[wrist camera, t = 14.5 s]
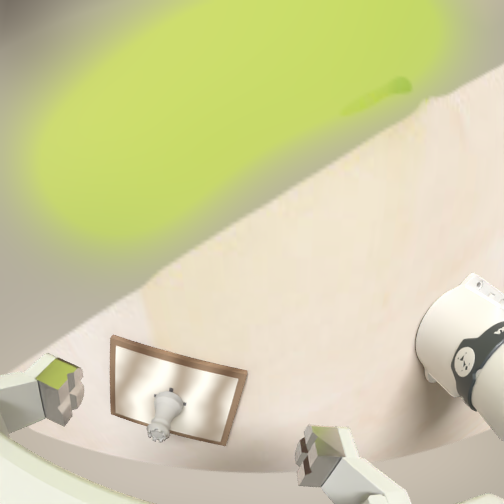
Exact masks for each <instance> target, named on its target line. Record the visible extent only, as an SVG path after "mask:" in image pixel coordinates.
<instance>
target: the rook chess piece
mask: <svg viewBox="0 0 504 504" xmlns="http://www.w3.org/2000/svg"><path fill="white" fill-rule="evenodd" d="M154 408H155V411H156V412H155V417H154V418H153V419H152V420H151V424H149V425H148V426H147V431H148V433H149V434H148V436H149V438H151V437H153V441H155V442H156V439H157V440H159V442H163V440H164V441H165V440H166V439H167V438H169V436H170V432H169V430H170V428H171V425H170V424H171V422H172V420H173V419H174V418H175V417H177V416H178V415H179V414H180V413H181V411H182V409H183V401H182V400H181V398H180V397H179V396H178V395H177V394H175V393H173V392H169V391H164V392H160V393H158V394H157V395H156V397H155V400H154Z"/></svg>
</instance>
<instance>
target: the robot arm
mask: <svg viewBox="0 0 504 504" xmlns="http://www.w3.org/2000/svg"><path fill="white" fill-rule="evenodd" d="M477 283H478V284H477ZM416 352H417V356H418V358H419V360H420V362H421V363H422V364H423V366H424V368H425V377H426V379H427V380H428V381H429V382H430V383H433V382H438V383H439V384H440V385H441V386H442V387H443V388H444V389H445V390H446V391H447V392H448V393H449V394H450V395H451V396H452V397H455V398H456V397H461V398H462V400H463V401H464V403H465V404H466V405H467V406H469V407H470V408H471V409H472V410H474V411H478V413H479V414H480V415H481V416H482V417H483V419H484V420H485V421H486V422H487V424H488V425H489V426H490V427H491V429H492V430H493V431H494V432H495V434H496V435H497V436H498V437H499V439H501V440H502V441H504V293H502V292H501V291H500V290H498V289H497V288H495V287H494V286H493V285H491V284H490V283H488V282H487V281H486V280H484V279H483V278H481V277H480V276H479V275H477V274H476V273H471V274H470V275H468V276H467V277H466V278H465V279H464V281H463V282H462V283H461V284H460V285H459V286H457V287H455V288H453V289H451V290H449V291H448V292H446V293H445V294H443V295H442V296H441V297H440V298H438V299H437V300H436V301H435V302H434V304H433V305H432V306H431V307H430V308H429V310H428V311H427V313H426V314H425V316H424V318H423V320H422V322H421V324H420V327H419V329H418V333H417V337H416ZM82 378H83V371H82V369H81V368H80V367H78V366H76V365H74V364H71V363H69V362H67V361H65V360H63V359H61V358H58V357H56V356H54V355H52V354H50V353H45V354H44V355H43V356H42V357H40V358H39V359H38V360H37V361H36V362H35V363H34V364H33V365H32V366H31V367H29V368H28V369H27V370H26V371H25V372H24V373H22V372H21V371H20V372H15V373H10V374H5V375H0V504H154V503H151V502H148V501H144V500H141V499H138V498H135V497H132V496H129V495H126V494H123V493H120V492H118V491H115V490H112V489H109V488H107V487H104V486H102V485H99V484H97V483H94V482H92V481H90V480H87V479H85V478H83V477H80V476H78V475H76V474H74V473H72V472H70V471H67V470H65V469H63V468H61V467H59V466H57V465H55V464H53V463H51V462H49V461H48V460H46V459H44V458H42V457H40V456H38V455H37V454H35V453H33V452H32V451H30V450H28V449H26V448H25V447H23V446H21V445H20V444H18V443H17V442H15V441H13V440H12V439H11V438H10V436H9V434H10V433H12V432H15V431H17V430H19V429H22V428H24V427H27V426H29V425H32V424H34V423H36V422H39V421H41V420H43V419H45V418H47V419H49V420H51V421H54V422H56V423H58V424H60V425H62V426H64V427H65V425H66V424H67V423H68V421H69V420H70V418H71V417H72V410H74V409H77V408H78V407H79V406H80V404H81V402H82V400H83V397H84V386H83V384H82V382H81V381H80V380H81V379H82ZM304 435H305V437H304V438H302V439H301V440H300V441H299V443H298V445H297V448H296V452H295V461H296V464H297V465H298V466H299V467H300V468H299V469H298V471H297V477H298V485H299V486H309V487H321V489H322V490H323V491H324V493H325V494H326V495H327V496H328V497H329V499H330V500H331V501H332V502H333V503H334V504H412V503H411V501H410V499H409V496H408V494H407V491H406V490H405V489H403V488H402V487H401V486H399V485H398V484H397V483H395V482H394V481H393V480H391V479H390V478H389V477H387V476H386V475H385V474H384V473H382V472H381V471H380V470H378V469H377V468H376V467H375V466H373V465H372V464H371V463H370V462H368V461H367V460H366V459H365V458H360V456H359V453H358V450H357V448H356V445H355V442H354V439H353V436H352V433H351V431H350V429H349V428H348V427H336V426H335V427H333V426H319V425H308V426H307V427H306V429H305V431H304ZM455 504H504V499H502V498H500V497H498V496H496V495H494V494H491V493H487V494H484V495H480V496H477V497H475V498H471V499H468V500H465V501H462V502H459V503H455Z"/></svg>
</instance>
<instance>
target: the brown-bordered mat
mask: <svg viewBox="0 0 504 504" xmlns="http://www.w3.org/2000/svg"><path fill="white" fill-rule="evenodd" d="M246 376H247V370H242V369H237V368H232V367H228V366H223V365H219V364H215V363H210V362H206V361H202V360H198V359H194V358H190V357H186V356H183V355H179V354H175V353H171V352H168V351H164V350H161V349H157V348H154V347H151V346H147V345H144V344H141V343H137V342H134V341H131V340H128V339H125V338H122V337H119V336H116V335H112V337H111V338H110V403H111V414H112V415H115V416H118V417H120V418H123V419H126V420H129V421H132V422H135V423H138V424H141V425H144V426H148V425H149V424H151V420H152V419H153V418H154V417H155V412H156V411H155V408H154V400H155V397H156V395H157V394H158V393H160V392H164V391H169V392H173V393H175V394H177V395H178V396H179V397H180V398H181V400H182V401H183V409H182V411H181V413H180V414H179V415H178V416H177V417H175V418H174V419H173V420H172V422H171V424H170V425H171V428H170V430H169V432H170V433H172V434H175V435H179V436H183V437H187V438H191V439H195V440H200V441H204V442H209V443H213V444H218V445H223V446H226V442H227V439H228V436H229V433H230V430H231V426H232V423H233V420H234V417H235V413H236V410H237V407H238V403H239V400H240V397H241V393H242V390H243V387H244V383H245V380H246Z"/></svg>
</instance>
